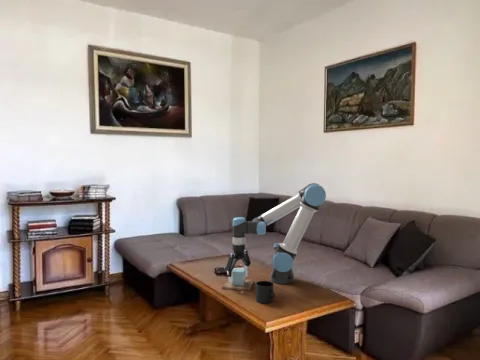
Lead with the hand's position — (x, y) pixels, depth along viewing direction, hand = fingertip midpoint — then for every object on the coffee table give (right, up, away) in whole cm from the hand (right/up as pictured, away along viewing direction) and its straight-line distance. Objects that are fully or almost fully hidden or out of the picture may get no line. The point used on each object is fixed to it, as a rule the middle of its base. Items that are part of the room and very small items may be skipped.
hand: (238, 279), depth 221 cm
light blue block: (0, -2, 0) cm, 2 cm away
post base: (0, -4, 0) cm, 4 cm away
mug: (+15, -5, -24) cm, 29 cm away
